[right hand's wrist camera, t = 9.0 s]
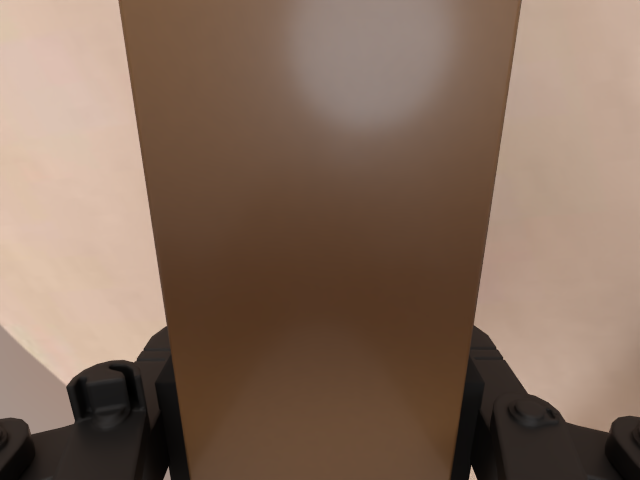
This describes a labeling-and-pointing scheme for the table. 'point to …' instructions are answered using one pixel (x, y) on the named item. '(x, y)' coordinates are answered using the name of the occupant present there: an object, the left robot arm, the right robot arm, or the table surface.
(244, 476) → the bar
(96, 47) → the table surface
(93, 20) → the table surface
